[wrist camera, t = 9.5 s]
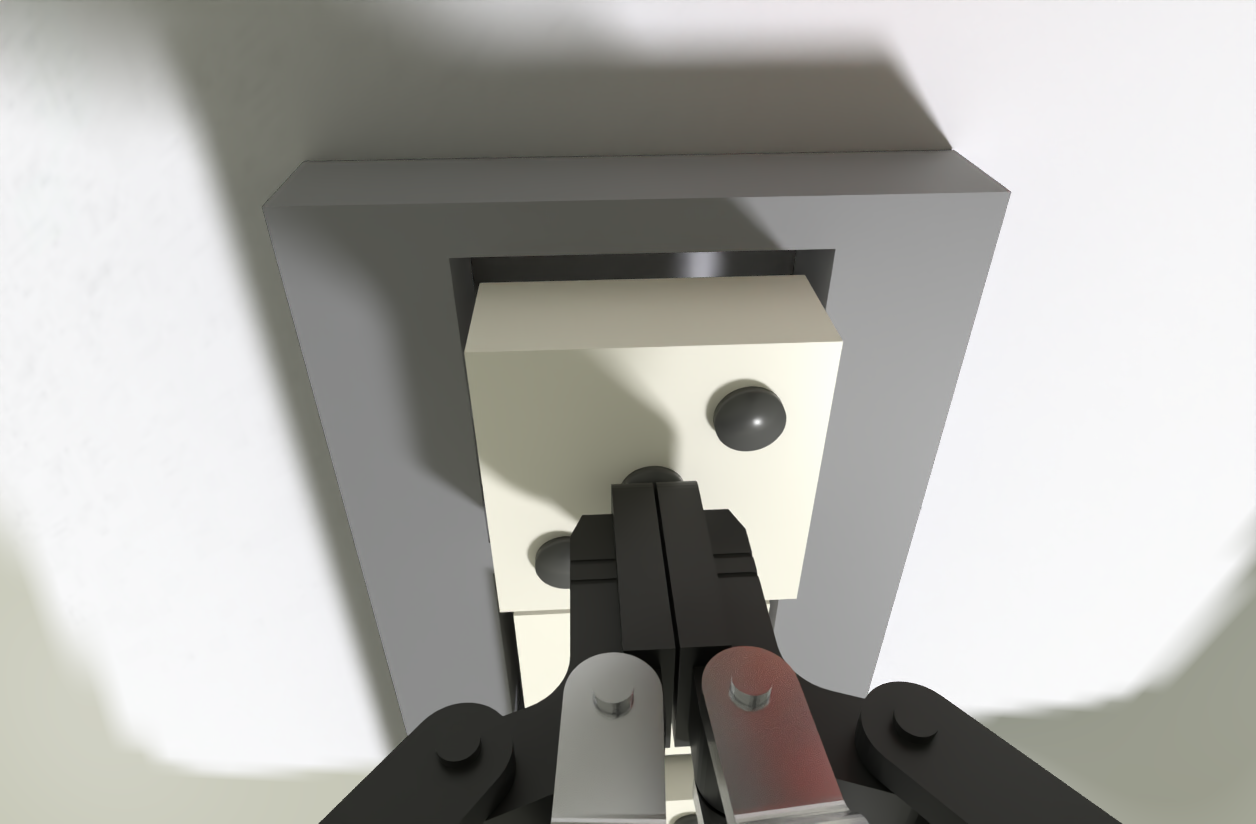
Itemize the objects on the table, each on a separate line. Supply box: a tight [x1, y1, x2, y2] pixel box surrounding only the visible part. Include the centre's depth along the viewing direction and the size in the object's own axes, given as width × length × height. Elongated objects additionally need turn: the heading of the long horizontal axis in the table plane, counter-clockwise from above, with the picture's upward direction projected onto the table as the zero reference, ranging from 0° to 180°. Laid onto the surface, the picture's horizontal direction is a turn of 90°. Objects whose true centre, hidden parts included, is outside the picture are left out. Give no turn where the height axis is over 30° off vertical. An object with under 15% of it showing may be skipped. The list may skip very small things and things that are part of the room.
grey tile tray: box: [262, 150, 1011, 756], centre depth 22 cm, size 13×25×2 cm, turn 0°
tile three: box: [464, 275, 843, 612], centre depth 15 cm, size 6×6×3 cm
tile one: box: [514, 600, 770, 755], centre depth 21 cm, size 6×6×3 cm
